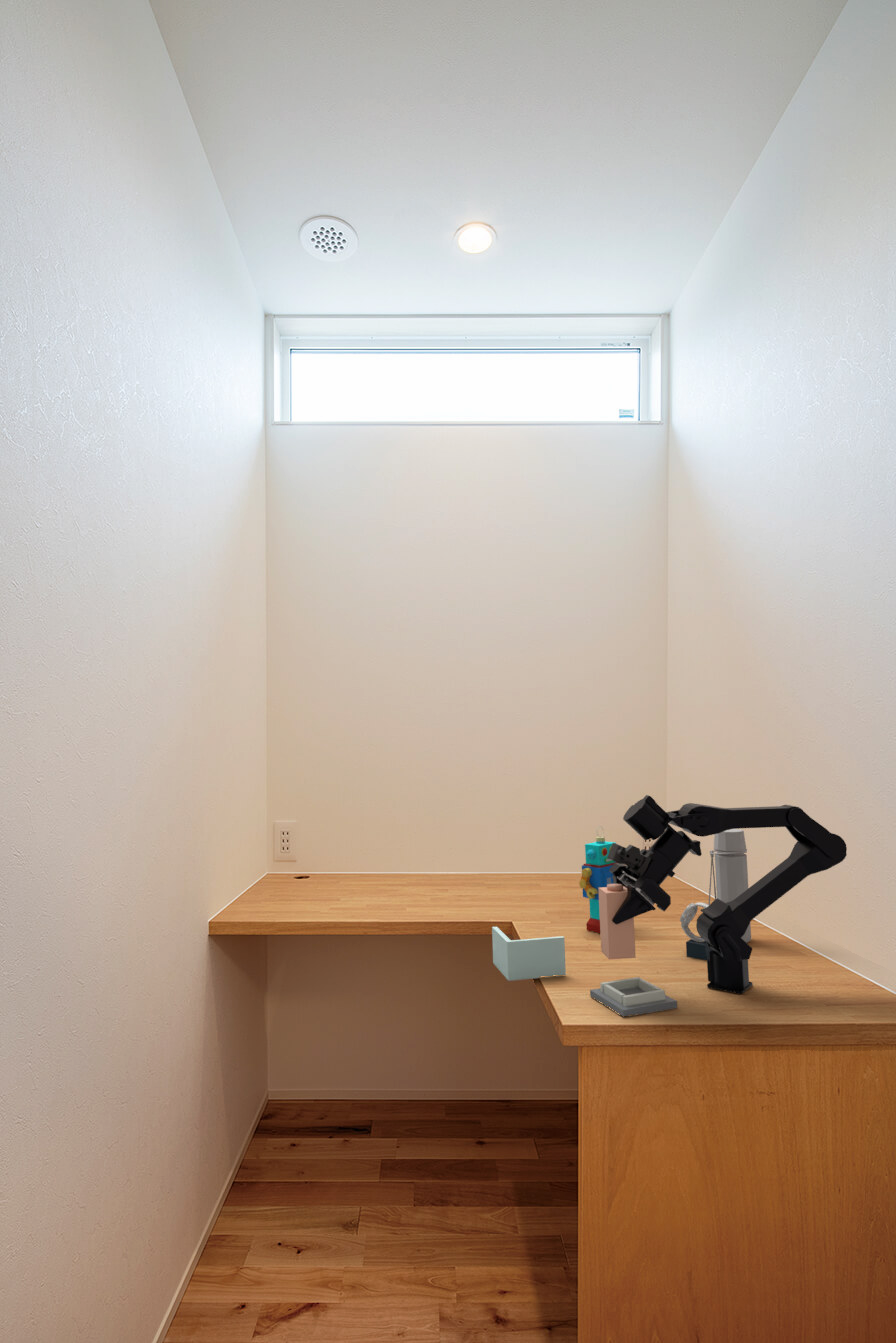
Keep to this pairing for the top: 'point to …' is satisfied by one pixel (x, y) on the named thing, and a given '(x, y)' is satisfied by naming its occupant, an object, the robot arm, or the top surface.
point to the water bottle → (730, 868)
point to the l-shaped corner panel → (528, 956)
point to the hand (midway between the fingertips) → (609, 919)
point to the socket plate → (633, 996)
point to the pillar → (615, 936)
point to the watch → (696, 944)
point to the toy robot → (596, 877)
